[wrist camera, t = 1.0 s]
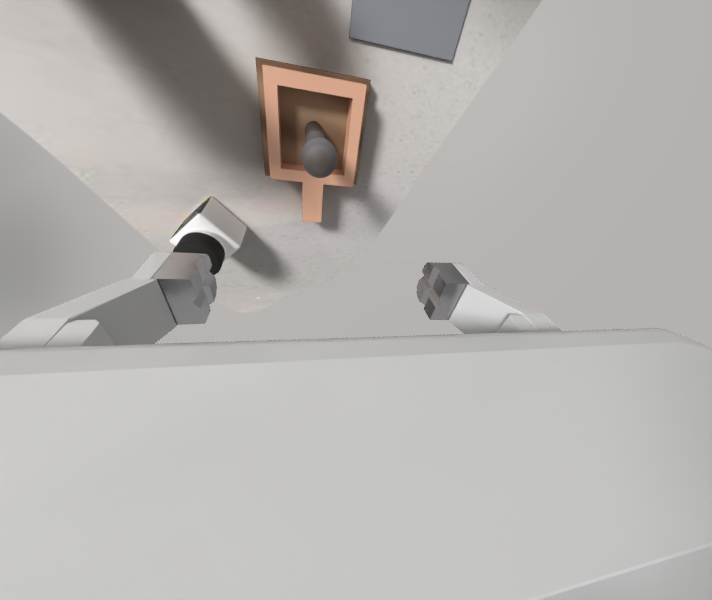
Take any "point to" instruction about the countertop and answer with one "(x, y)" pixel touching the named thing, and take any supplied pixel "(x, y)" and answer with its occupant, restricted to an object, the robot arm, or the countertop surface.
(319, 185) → the frame
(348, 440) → the robot arm
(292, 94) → the stand
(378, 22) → the mat
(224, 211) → the medicine bottle
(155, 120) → the countertop surface
